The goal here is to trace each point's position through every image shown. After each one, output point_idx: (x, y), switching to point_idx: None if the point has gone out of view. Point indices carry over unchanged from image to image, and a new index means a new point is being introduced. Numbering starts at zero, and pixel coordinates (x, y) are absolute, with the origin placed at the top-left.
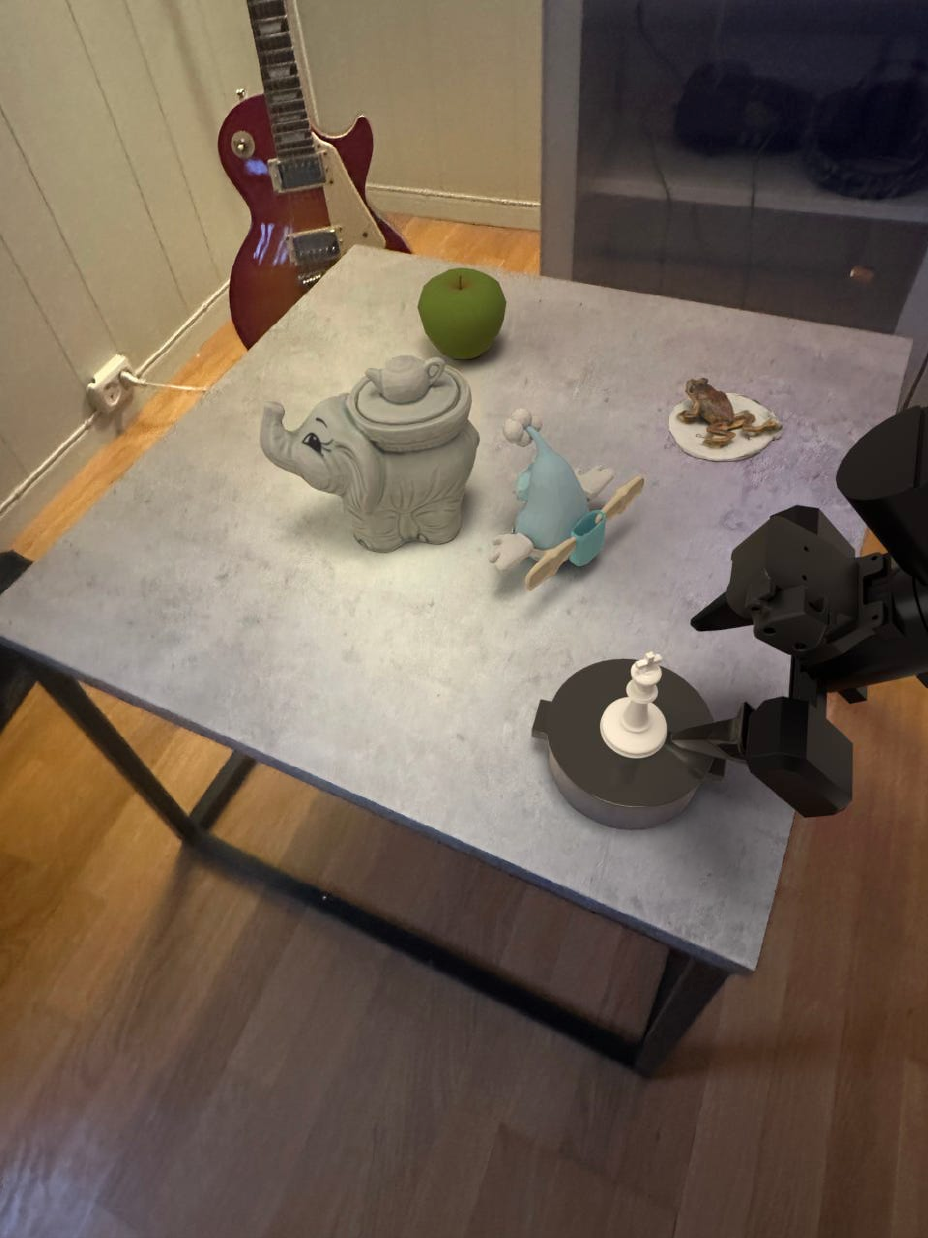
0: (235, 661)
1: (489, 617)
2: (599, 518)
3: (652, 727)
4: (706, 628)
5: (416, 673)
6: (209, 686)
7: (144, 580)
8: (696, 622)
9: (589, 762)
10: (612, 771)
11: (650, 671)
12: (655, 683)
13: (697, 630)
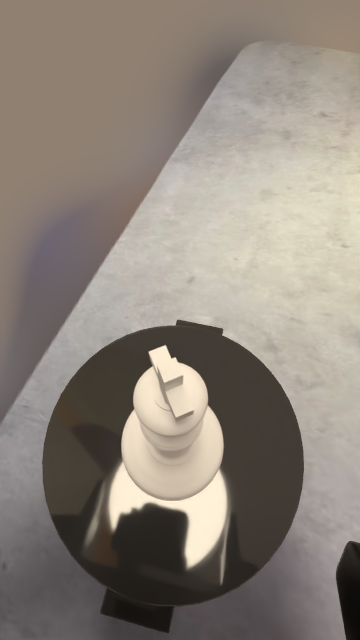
0: (246, 132)
1: (345, 297)
2: None
3: (161, 468)
4: (347, 606)
5: (257, 240)
6: (221, 123)
7: (305, 81)
8: (357, 564)
9: (119, 377)
10: (103, 407)
11: (164, 401)
12: (139, 418)
13: (337, 569)
